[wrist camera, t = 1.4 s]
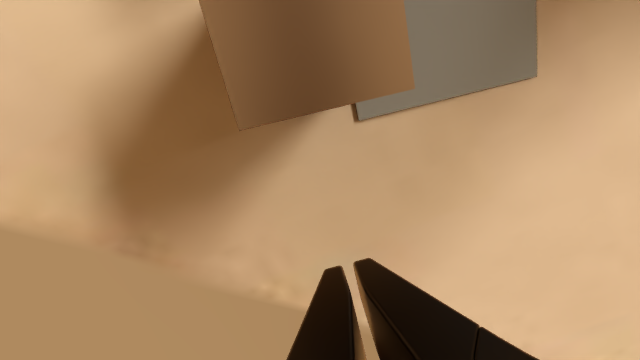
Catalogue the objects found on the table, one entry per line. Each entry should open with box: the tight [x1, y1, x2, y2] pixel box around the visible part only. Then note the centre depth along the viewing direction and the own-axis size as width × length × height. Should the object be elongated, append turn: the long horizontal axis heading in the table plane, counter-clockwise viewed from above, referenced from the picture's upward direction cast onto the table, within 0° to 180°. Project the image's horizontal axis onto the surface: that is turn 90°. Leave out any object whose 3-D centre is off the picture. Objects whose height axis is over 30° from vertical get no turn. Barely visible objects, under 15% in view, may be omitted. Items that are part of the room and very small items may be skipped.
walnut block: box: [199, 0, 415, 131], centre depth 13 cm, size 5×5×9 cm
